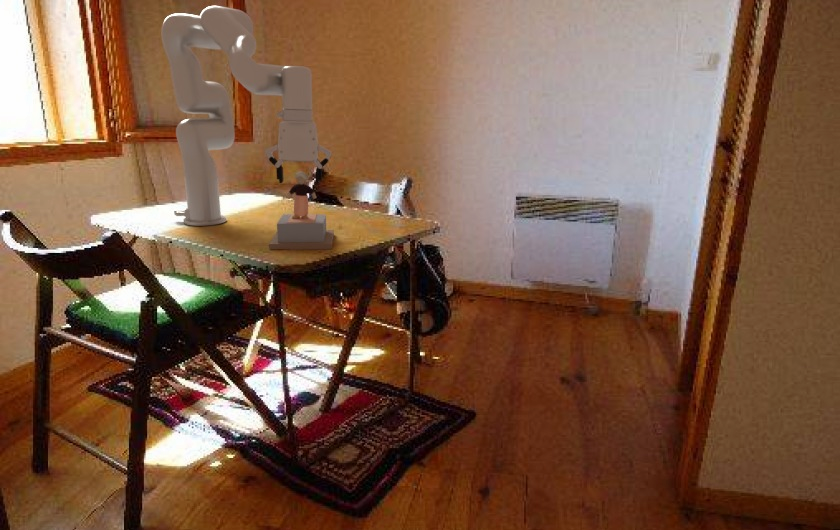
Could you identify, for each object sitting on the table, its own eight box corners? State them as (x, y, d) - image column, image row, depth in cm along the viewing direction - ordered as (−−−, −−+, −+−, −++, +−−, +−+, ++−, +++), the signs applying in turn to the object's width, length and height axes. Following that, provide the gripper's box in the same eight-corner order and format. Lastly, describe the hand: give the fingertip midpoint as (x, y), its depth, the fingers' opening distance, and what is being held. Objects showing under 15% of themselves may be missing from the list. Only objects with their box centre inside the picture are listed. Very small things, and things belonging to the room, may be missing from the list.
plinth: (269, 249, 141) (267, 224, 139) (278, 235, 156) (276, 212, 154) (331, 249, 143) (330, 224, 141) (333, 234, 158) (333, 212, 156)
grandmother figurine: (288, 219, 145) (287, 171, 141) (287, 216, 148) (286, 170, 145) (317, 218, 147) (316, 172, 144) (315, 216, 151) (315, 170, 147)
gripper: (261, 116, 135) (264, 184, 141) (330, 118, 137) (331, 185, 143) (266, 115, 143) (268, 179, 148) (332, 117, 145) (332, 181, 150)
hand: (299, 182), depth 145 cm, fingers open, 9 cm apart
